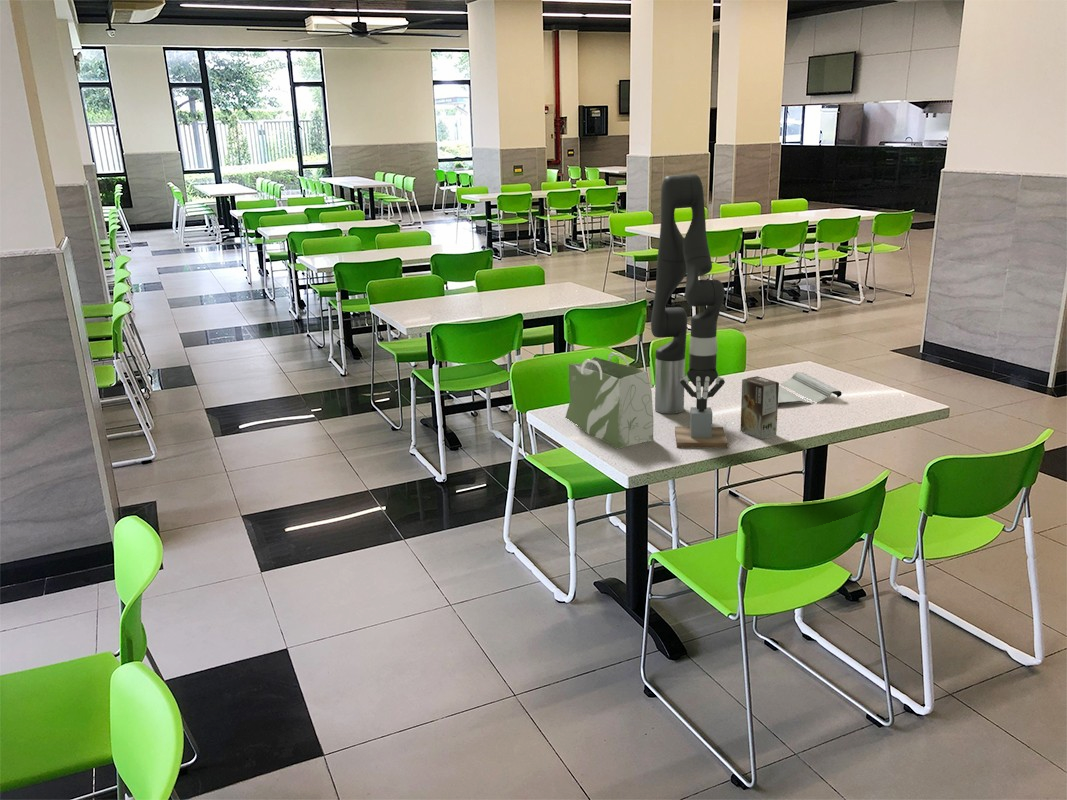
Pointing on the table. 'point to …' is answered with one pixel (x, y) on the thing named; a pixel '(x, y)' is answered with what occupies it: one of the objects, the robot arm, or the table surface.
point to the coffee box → (759, 407)
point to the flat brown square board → (687, 442)
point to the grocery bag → (611, 401)
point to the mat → (805, 389)
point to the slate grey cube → (701, 423)
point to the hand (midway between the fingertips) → (701, 410)
